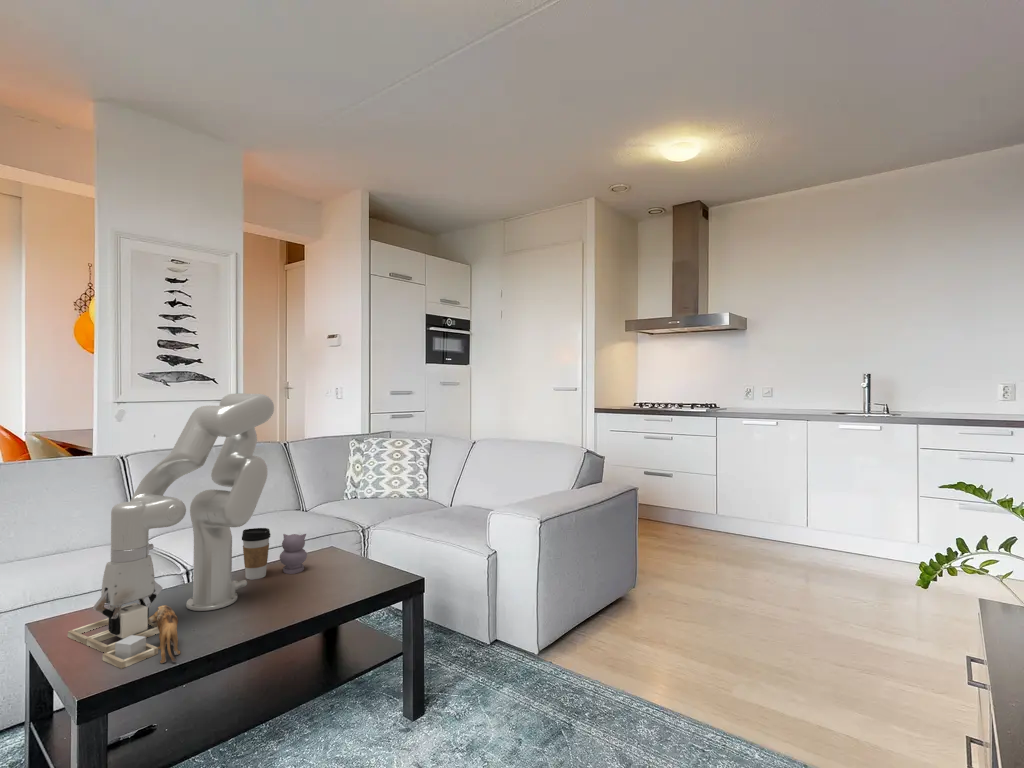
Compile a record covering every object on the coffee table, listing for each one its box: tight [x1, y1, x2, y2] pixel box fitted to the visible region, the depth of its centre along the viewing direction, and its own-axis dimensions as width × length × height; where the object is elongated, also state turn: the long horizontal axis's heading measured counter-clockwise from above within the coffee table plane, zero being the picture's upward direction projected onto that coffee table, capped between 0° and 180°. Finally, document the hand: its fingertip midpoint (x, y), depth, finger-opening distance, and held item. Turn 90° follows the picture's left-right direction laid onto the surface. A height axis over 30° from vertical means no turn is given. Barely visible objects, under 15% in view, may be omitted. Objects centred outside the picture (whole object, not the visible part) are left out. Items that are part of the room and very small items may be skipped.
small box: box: [102, 642, 159, 670], centre depth 123 cm, size 8×8×1 cm
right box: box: [67, 617, 109, 646], centre depth 137 cm, size 14×8×1 cm, turn 152°
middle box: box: [85, 618, 159, 654], centre depth 133 cm, size 14×8×1 cm, turn 152°
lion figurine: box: [149, 604, 181, 664], centre depth 126 cm, size 15×5×9 cm, turn 44°
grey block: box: [114, 634, 147, 660], centre depth 123 cm, size 4×4×4 cm
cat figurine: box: [279, 533, 308, 575], centre depth 182 cm, size 8×8×12 cm
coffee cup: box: [241, 527, 272, 580], centre depth 176 cm, size 8×8×15 cm
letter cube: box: [110, 602, 149, 639], centre depth 133 cm, size 6×6×6 cm
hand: (129, 627), depth 133 cm, fingers closed on letter cube, 5 cm apart
